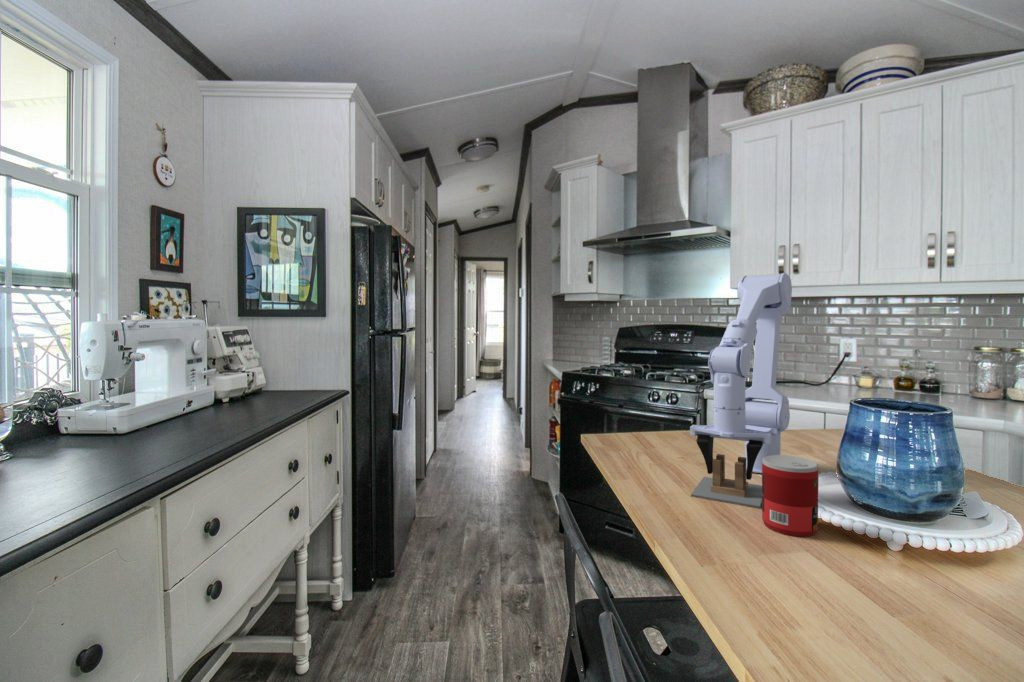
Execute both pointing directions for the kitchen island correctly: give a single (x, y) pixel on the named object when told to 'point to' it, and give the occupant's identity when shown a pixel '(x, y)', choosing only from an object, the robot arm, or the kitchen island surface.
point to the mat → (750, 499)
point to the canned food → (790, 495)
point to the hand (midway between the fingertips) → (729, 475)
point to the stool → (728, 485)
